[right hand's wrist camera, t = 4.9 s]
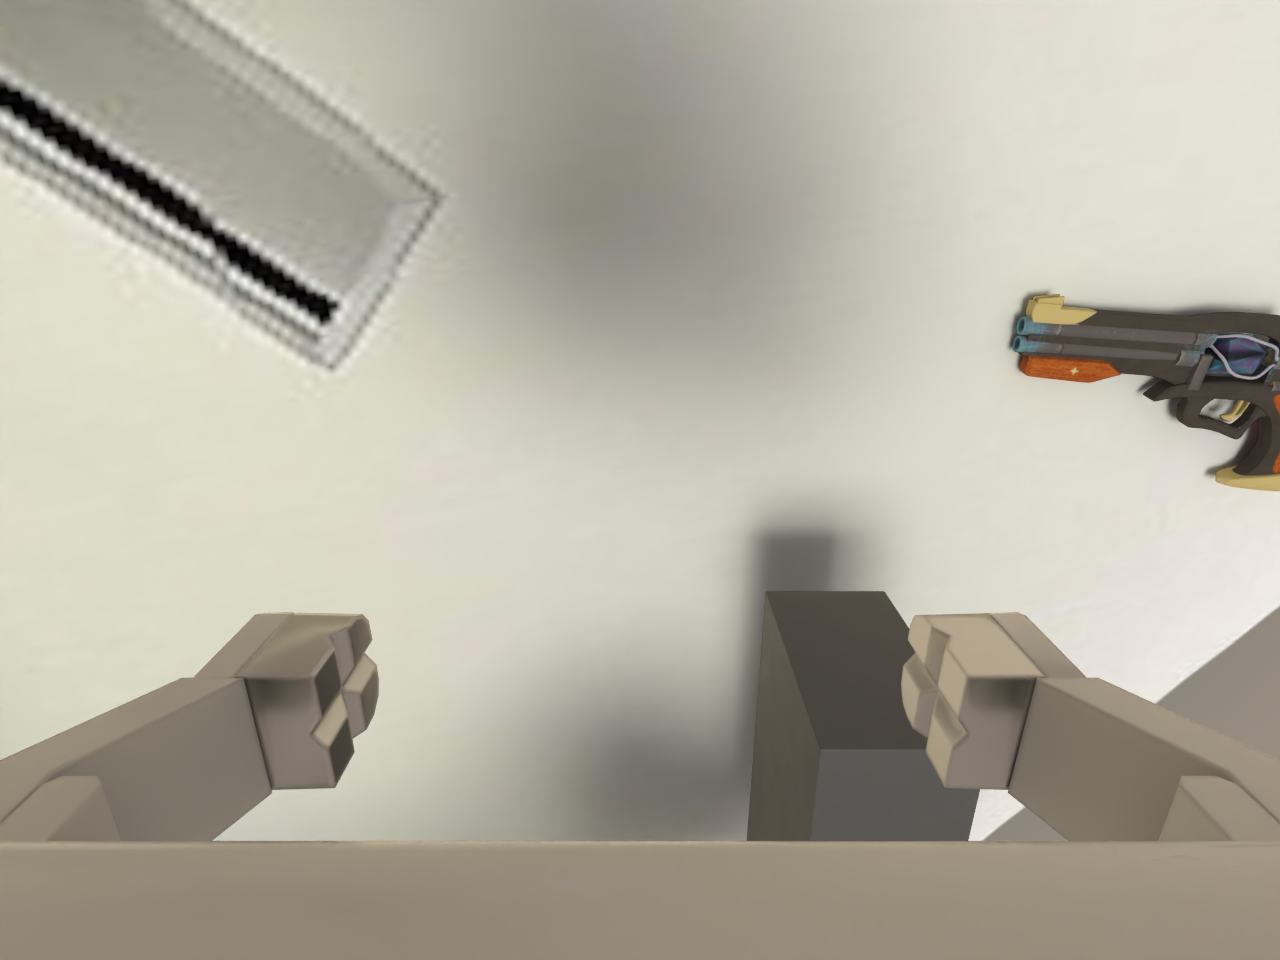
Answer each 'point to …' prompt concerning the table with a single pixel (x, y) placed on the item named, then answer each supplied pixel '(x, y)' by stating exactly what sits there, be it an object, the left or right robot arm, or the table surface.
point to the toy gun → (1170, 367)
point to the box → (842, 729)
